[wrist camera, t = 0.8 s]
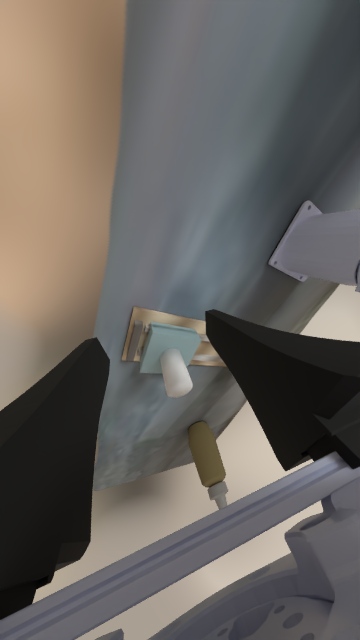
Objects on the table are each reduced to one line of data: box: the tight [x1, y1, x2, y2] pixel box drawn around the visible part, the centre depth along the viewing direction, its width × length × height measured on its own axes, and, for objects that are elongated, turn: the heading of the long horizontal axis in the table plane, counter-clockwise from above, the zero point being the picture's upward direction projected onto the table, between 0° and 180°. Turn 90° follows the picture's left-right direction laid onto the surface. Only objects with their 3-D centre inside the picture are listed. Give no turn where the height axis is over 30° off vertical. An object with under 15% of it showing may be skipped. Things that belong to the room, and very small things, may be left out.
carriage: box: [139, 321, 201, 397], centre depth 18 cm, size 7×7×8 cm
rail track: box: [122, 306, 227, 367], centre depth 25 cm, size 28×9×3 cm, turn 69°
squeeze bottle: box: [189, 421, 228, 510], centre depth 36 cm, size 8×8×18 cm
